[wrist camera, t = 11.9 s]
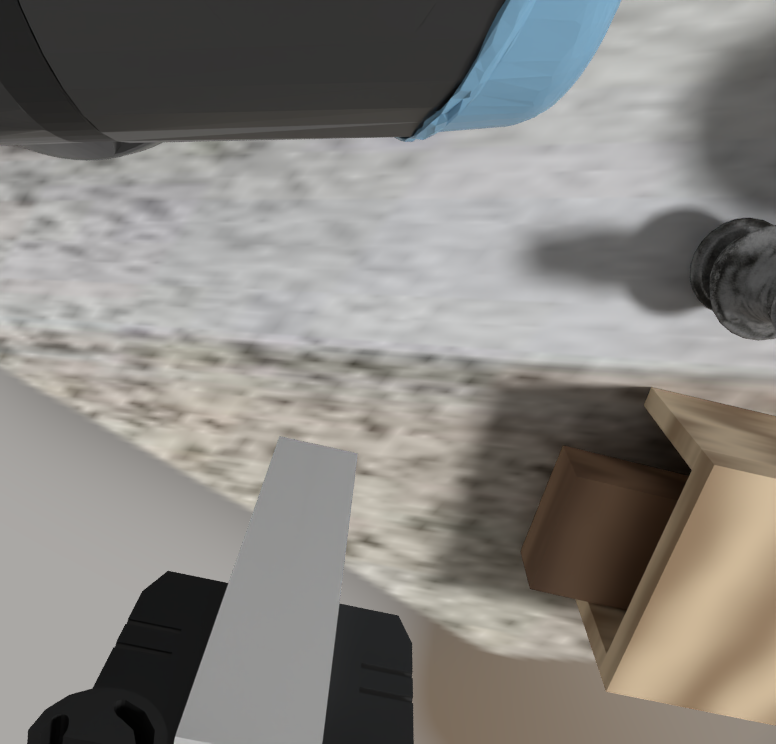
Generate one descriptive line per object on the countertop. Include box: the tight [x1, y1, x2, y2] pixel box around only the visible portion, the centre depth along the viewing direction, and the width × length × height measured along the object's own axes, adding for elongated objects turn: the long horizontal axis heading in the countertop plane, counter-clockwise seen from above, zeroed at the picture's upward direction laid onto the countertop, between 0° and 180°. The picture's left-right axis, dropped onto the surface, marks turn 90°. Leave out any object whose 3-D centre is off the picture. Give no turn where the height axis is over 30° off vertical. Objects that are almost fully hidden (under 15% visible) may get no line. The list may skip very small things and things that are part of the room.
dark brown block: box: [521, 445, 689, 611], centre depth 43 cm, size 12×8×4 cm, turn 75°
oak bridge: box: [576, 387, 776, 726], centre depth 40 cm, size 11×14×9 cm
